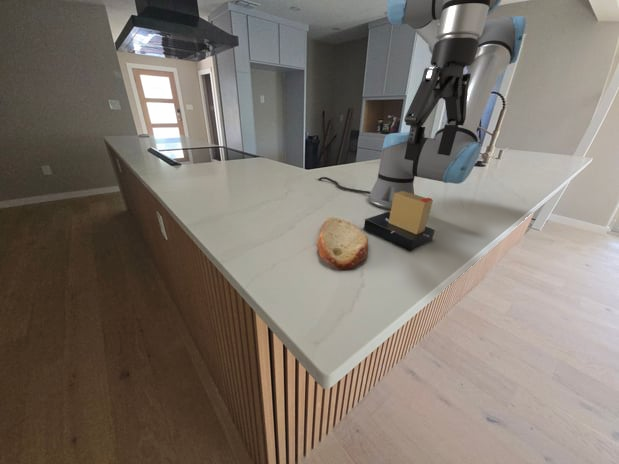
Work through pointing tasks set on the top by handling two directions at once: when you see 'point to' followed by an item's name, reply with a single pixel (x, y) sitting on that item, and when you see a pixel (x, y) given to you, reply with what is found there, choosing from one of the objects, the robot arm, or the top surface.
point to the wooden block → (410, 212)
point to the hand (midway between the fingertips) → (428, 157)
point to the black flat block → (397, 232)
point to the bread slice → (342, 244)
